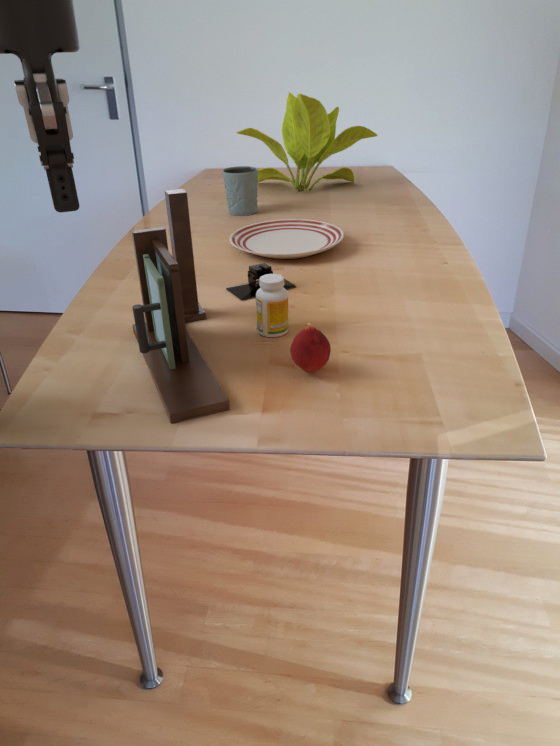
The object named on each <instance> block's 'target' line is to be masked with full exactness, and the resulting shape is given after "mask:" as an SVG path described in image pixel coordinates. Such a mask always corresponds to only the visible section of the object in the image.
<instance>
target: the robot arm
mask: <svg viewBox="0 0 560 746" xmlns="http://www.w3.org/2000/svg"><path fill="white" fill-rule="evenodd" d="M77 21H78V20H77V15H76V10H75V5H74V0H0V55H8V54H11V55H14V56H16V58H18V59H19V60H20V63H21V64H20V65H21V68H22V73H23V79H14V80H13V83H14V88H15V92H16V97H17V101H18V103H19V105H20V106H22V108H23V112H24V116H25V120H26V124H27V129H28V133H29V137H30V140H31V141H32V142H33V143H35V144H37V145H38V146H37V151H38V153H40V154H39V155H38V156H39V162H40V165H41V167H43V170H44V171H45V173H46V178H47V182H48V186H49V191H50V195H51V196H50V197H51V199H52V204H53V208H54V210H55V211H56V212H57V213H68V212H70V213H71V212H76V211H78V210H79V209H80V201H79V196H78V191H77V188H76V187H77V185H76V183H75V182H76V181H75V177H74V172H73V168H74V164H75V161H74V159H75V155H74V152H72V147H71V140H73V138H74V133H73V126H72V122H71V118H70V117H71V116H70V112H69V107H68V104H69V103H70V96H69V89H68V84H67V80H66V79H64V78H63V77H59V78H56V75H55V70H54V66H53V62H52V57H53V55H55V54H59V53H61V54H62V53H76V52H79V50H80V49H81V39H80V33H79V28H78V22H77Z"/></svg>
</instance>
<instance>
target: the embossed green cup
mask: <svg viewBox="0 0 560 746" xmlns="http://www.w3.org/2000/svg"><path fill="white" fill-rule="evenodd" d="M258 170H259V169H258V168H257V167H256V166H250V165H249V166H248V165H239V166H230V167H226V168H224V169H222V171H221V173H222V179H223V185H224V188H225V197H226V201H227V202H226V203H227V204H226V205H227V212H228V214H230V215H232V216H241V217H243V216H251V215H255V214H256V213H258V183H259V182H258Z"/></svg>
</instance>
